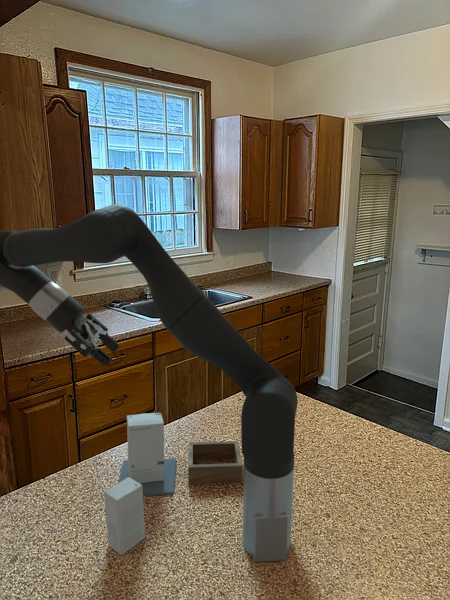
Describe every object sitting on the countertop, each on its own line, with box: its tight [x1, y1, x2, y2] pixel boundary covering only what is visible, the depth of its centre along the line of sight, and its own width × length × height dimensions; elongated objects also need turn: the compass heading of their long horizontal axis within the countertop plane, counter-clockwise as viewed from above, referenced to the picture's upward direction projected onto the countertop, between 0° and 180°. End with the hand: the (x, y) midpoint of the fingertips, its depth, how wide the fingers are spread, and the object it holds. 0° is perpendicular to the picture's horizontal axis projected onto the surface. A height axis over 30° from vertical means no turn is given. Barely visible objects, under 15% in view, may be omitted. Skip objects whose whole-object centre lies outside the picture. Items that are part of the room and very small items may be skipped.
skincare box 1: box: [103, 477, 146, 556], centre depth 86 cm, size 6×4×12 cm
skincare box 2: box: [126, 412, 165, 484], centre depth 105 cm, size 8×6×15 cm
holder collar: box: [187, 440, 244, 486], centre depth 109 cm, size 10×12×4 cm
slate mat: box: [117, 458, 177, 497], centre depth 106 cm, size 13×13×1 cm
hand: (113, 355), depth 101 cm, fingers open, 8 cm apart
